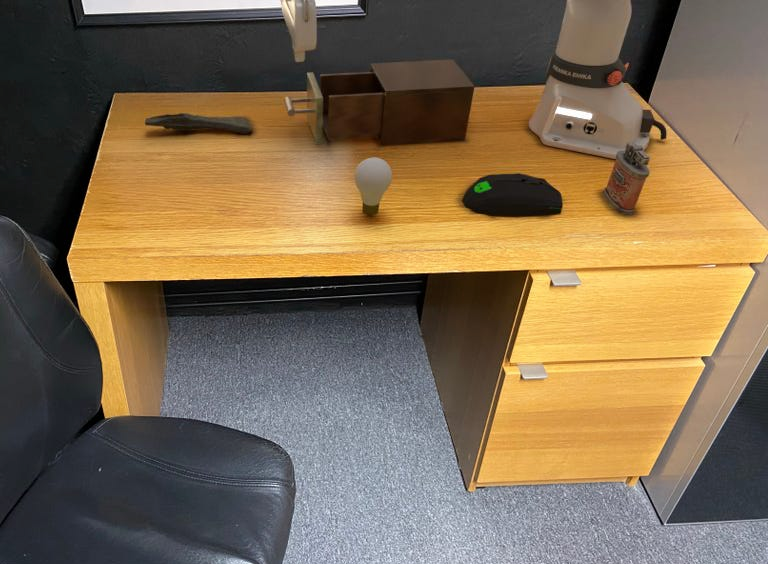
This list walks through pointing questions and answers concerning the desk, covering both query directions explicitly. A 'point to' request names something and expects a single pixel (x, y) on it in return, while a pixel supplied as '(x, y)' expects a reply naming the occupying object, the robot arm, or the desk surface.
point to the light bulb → (372, 183)
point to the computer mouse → (513, 196)
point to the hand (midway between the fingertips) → (298, 59)
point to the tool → (200, 122)
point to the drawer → (342, 106)
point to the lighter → (627, 179)
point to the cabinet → (423, 101)
